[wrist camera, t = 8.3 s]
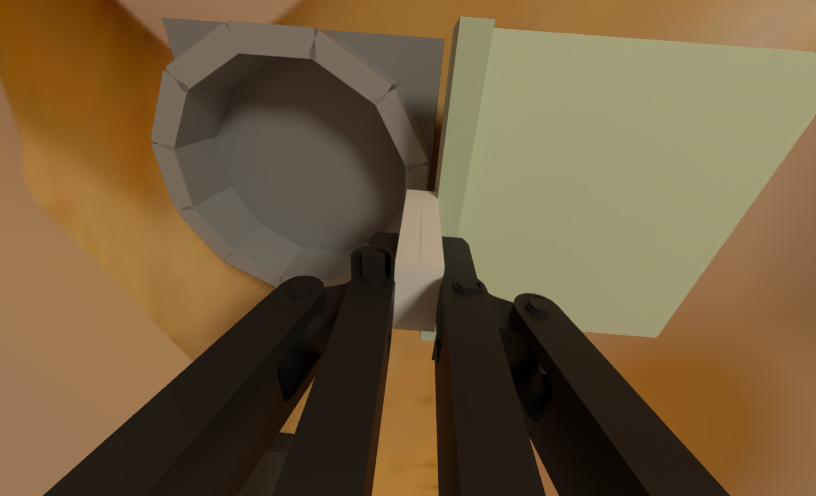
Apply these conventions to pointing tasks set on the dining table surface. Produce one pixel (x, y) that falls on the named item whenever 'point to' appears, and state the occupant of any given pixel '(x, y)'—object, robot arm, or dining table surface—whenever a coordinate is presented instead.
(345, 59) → the holder
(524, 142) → the pale green square board
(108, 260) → the dining table surface
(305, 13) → the dining table surface
